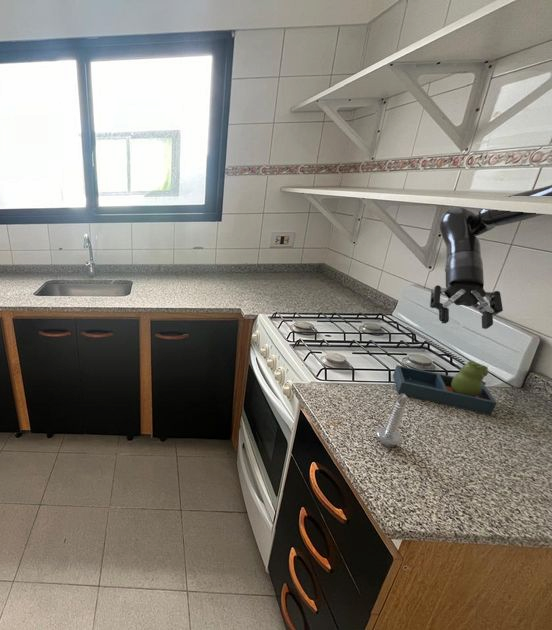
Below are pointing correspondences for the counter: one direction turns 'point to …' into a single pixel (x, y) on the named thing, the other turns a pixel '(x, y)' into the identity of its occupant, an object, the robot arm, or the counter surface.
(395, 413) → the screw
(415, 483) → the counter surface
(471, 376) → the pear
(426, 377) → the tray
